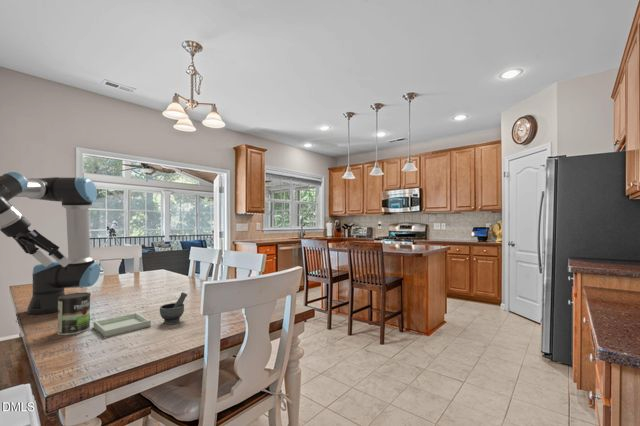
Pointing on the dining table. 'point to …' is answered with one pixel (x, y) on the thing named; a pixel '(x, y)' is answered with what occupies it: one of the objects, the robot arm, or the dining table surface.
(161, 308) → the mortar and pestle
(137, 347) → the dining table surface
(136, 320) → the tray
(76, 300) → the coffee can
